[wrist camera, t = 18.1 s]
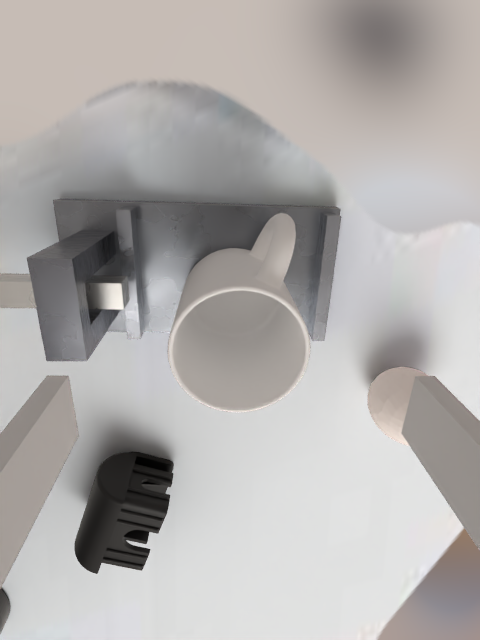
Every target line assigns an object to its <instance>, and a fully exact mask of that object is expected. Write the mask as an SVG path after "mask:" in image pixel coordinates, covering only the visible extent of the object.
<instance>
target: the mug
mask: <svg viewBox="0 0 480 640" xmlns="http://www.w3.org/2000/svg"><path fill="white" fill-rule="evenodd" d="M295 238H296V230H295V223H294V221H293V219H292V218H291V217H290V216H289V215H288V214H284V213H279V214H276V215H274V216H273V217H272V218H270V220H269V221H268V222H267V223H266V225H265V226H264V228H263V229H262V231H261V233H260V235H259V236H258V238H257V240H256V242H255V244H254V246H253V248H252V250H251V251H250V250H246V249H240V248H228V249H222V250H219V251H216V252H213V253H211V254H209V255H208V256H206V257H204V258H203V259H202V260H201V261H199V262H198V263H197V264H196V265H195V266H194V268H193V269H192V270H191V272H190V274H189V275H188V277H187V279H186V282H185V285H184V287H183V291H182V294H181V298H180V301H179V305H178V308H177V312H176V315H175V318H174V322H173V325H172V329H171V332H170V336H169V341H168V360H169V364H170V368H171V370H172V373H173V375H174V377H175V378H176V380H177V382H178V383H179V385H180V386H181V387H182V389H183V390H184V391H185V392H186V393H187V394H188V395H190V396H191V397H192V398H194V399H195V400H196V401H198V402H200V403H201V404H203V405H206V406H208V407H210V408H213V409H217V410H221V411H226V412H248V411H254V410H258V409H262V408H264V407H267V406H270V405H272V404H274V403H276V402H277V401H279V400H280V399H282V398H283V397H285V396H286V395H287V394H288V393H290V392H291V391H292V390H293V388H294V387H295V386H296V385H297V384H298V382H299V381H300V380H301V378H302V376H303V374H304V372H305V370H306V367H307V365H308V361H309V356H310V337H309V333H308V329H307V327H306V324H305V322H304V320H303V318H302V316H301V314H300V312H299V310H298V308H297V306H296V305H295V303H294V301H293V299H292V297H291V295H290V293H289V291H288V289H287V287H286V285H285V283H284V281H283V280H284V278H285V275H286V273H287V270H288V267H289V264H290V261H291V258H292V254H293V250H294V245H295Z"/></svg>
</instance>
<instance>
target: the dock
mask: <svg viewBox="0 0 480 640" xmlns="http://www.w3.org/2000/svg"><path fill="white" fill-rule="evenodd" d="M53 203H54V210H55V216H56V222H57V229H58V235H59V242H57V243H55V244H53V245H51V246H49V247H47V248H45V249H43V250H41V251H39V252H37V253H36V254H34V255H32V256H30V257H28V258H27V262H28V267H29V272H30V277H31V282H32V288H33V293H34V298H35V303H36V308H37V313H38V319H39V324H40V329H41V334H42V339H43V344H44V350H45V355H46V360H47V361H87V360H88V359H89V357H90V356H91V354H92V353H93V351H94V350H95V348H96V347H97V345H98V344H99V342H100V341H101V339H102V338H103V336H104V335H105V333H106V332H127V336H128V339H141V337H142V334H143V332H171V329H172V325H173V322H174V318H175V315H176V312H177V308H178V305H179V301H180V298H181V294H182V291H183V287H184V285H185V282H186V279H187V277H188V275H189V274H190V272H191V270H192V269H193V268H194V266H195V265H196V264H197V263H198V262H199V261H201V260H202V259H203V258H204V257H206V256H208V255H209V254H211V253H213V252H216V251H219V250H222V249H228V248H240V249H246V250H250V251H251V250H252V248H253V246H254V244H255V242H256V240H257V238H258V236H259V235H260V233H261V231H262V229H263V228H264V226H265V225H266V223H267V222H268V221H269V220H270V218H272V217H273V216H274V215H276V214H279V213H284V214H288V215H289V216H290V217H291V218H292V219H293V221H294V223H295V230H296V238H295V245H294V250H293V254H292V258H291V261H290V264H289V267H288V270H287V273H286V275H285V278H284V280H283V281H284V283H285V285H286V287H287V289H288V291H289V293H290V295H291V297H292V299H293V301H294V303H295V305H296V306H297V308H298V310H299V312H300V314H301V316H302V318H303V320H304V322H305V324H306V327H307V329H308V333H309V335H310V337H311V339H312V341H324V340H325V333H326V325H327V318H328V310H329V303H330V296H331V288H332V281H333V274H334V266H335V259H336V252H337V244H338V237H339V230H340V222H341V216H340V208H337V207H318V206H284V205H250V204H216V203H182V202H149V201H115V200H81V199H57V200H53ZM93 275H122V276H128V286H129V297H130V301H129V302H128V304H127V305H126V307H125V308H124V309H88V303H87V296H86V288H85V282H86V281H87V280H88V279H89V278H90V277H92V276H93Z"/></svg>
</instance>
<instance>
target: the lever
mask: <svg viewBox="0 0 480 640" xmlns="http://www.w3.org/2000/svg"><path fill="white" fill-rule="evenodd" d="M85 288H86V296H87V303H88V309H124V308H125V307H126V305H127V304H128V302H129V301H130V297H129V286H128V276H122V275H93V276H92V277H90V278H89V279H88V280H87V281H86V282H85ZM0 308H36V303H35V298H34V293H33V288H32V282H31V277H30V274H13V273H0Z"/></svg>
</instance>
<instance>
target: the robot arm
mask: <svg viewBox="0 0 480 640" xmlns="http://www.w3.org/2000/svg"><path fill="white" fill-rule="evenodd" d="M401 434H402V435H403V437H404V438H405V439H406V441H407V442H408V444H409V445H410V447H411V448H412V450H413V451H414V453H415V454H416V456H417V457H418V459H419V460H420V462H421V463H422V465H423V466H424V468H425V469H426V471H427V472H428V474H429V475H430V477H431V478H432V480H433V481H434V483H435V484H436V486H437V487H438V489H439V490H440V492H441V493H442V495H443V496H444V498H445V499H446V501H447V502H448V504H449V505H450V507H451V508H452V510H453V511H454V513H455V514H456V516H457V517H458V519H459V520H460V522H461V523H462V525H463V526H464V528H465V529H466V531H467V532H468V534H469V535H470V537H471V538H472V540H473V541H474V543H475V544H476V546H477V547H478V549H479V550H480V421H479V420H478V419H477V418H476V417H475V416H474V415H473V414H472V413H471V412H470V411H469V410H468V409H467V408H466V407H465V406H464V405H463V404H462V403H461V402H460V401H459V400H458V399H457V398H456V397H455V396H454V395H453V394H452V393H451V392H450V391H449V390H448V389H447V388H446V387H445V386H444V385H443V384H442V383H441V382H440V381H439V380H438V379H437V378H436V377H435V376H415V380H414V384H413V388H412V392H411V396H410V400H409V404H408V408H407V412H406V416H405V420H404V424H403V428H402V432H401ZM78 436H79V434H78V428H77V422H76V416H75V410H74V404H73V399H72V393H71V387H70V381H69V376H46V378H45V379H44V380H43V381H42V383H41V384H40V385H39V386H38V388H37V389H36V390H35V391H34V393H33V394H32V395H31V396H30V398H29V399H28V400H27V401H26V403H25V404H24V405H23V406H22V408H21V409H20V410H19V411H18V413H17V414H16V415H15V416H14V418H13V419H12V420H11V421H10V423H9V424H8V425H7V426H6V428H5V429H4V430H3V431H2V433H1V434H0V634H1V631H2V629H3V627H4V625H5V623H6V621H7V619H8V616H9V613H10V604H9V601H8V598H7V596H6V595H5V593H4V592H3V590H2V589H1V587H2V585H3V583H4V581H5V579H6V577H7V575H8V573H9V571H10V569H11V567H12V565H13V563H14V562H15V560H16V558H17V556H18V554H19V552H20V550H21V548H22V546H23V544H24V542H25V540H26V538H27V536H28V534H29V532H30V530H31V528H32V526H33V524H34V522H35V520H36V519H37V517H38V515H39V513H40V511H41V509H42V507H43V505H44V503H45V501H46V499H47V497H48V495H49V493H50V491H51V489H52V487H53V485H54V483H55V481H56V479H57V477H58V475H59V474H60V472H61V470H62V468H63V466H64V464H65V462H66V460H67V458H68V456H69V454H70V452H71V450H72V448H73V446H74V444H75V442H76V440H77V438H78Z"/></svg>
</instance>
